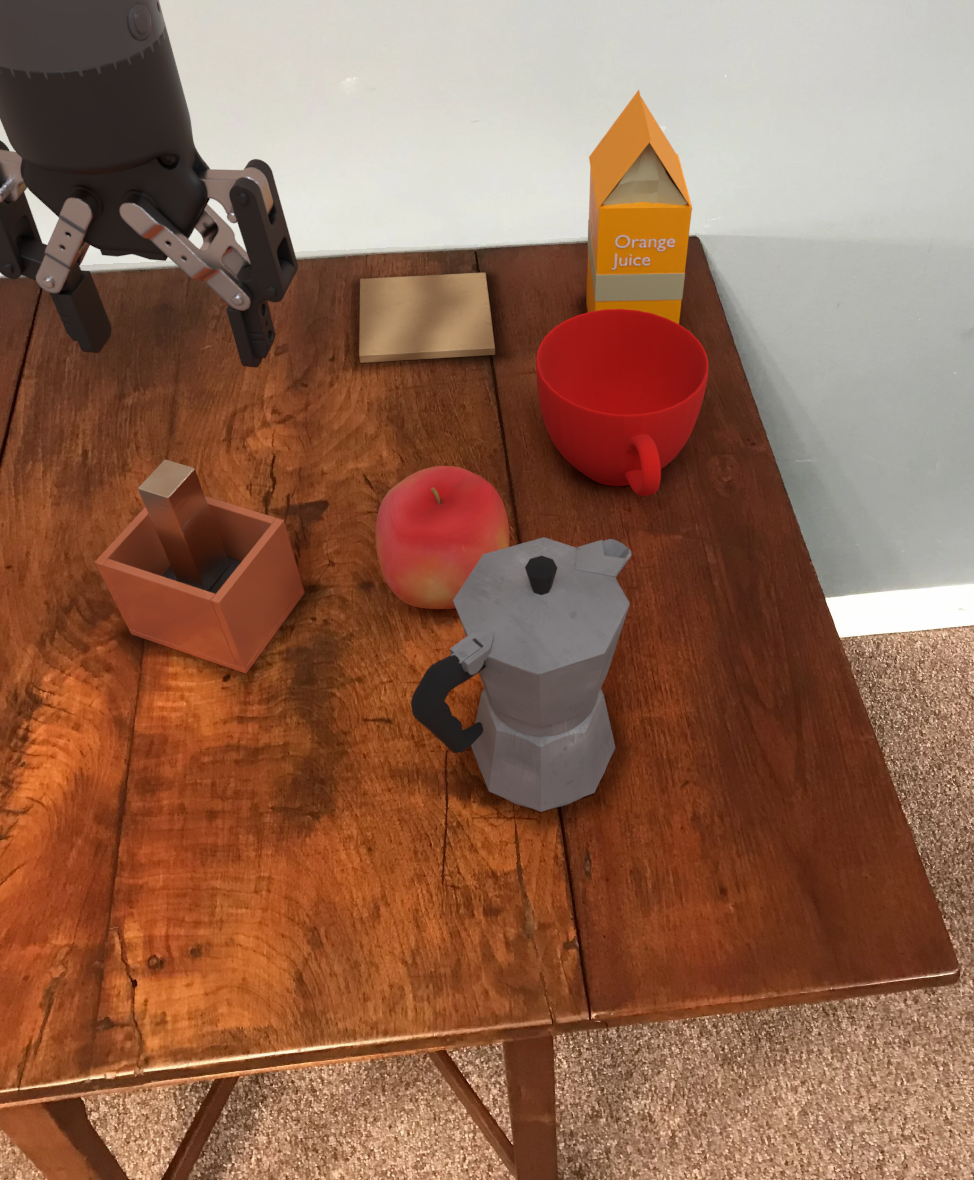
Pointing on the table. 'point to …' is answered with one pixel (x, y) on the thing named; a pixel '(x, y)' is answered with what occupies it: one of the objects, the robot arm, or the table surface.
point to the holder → (198, 617)
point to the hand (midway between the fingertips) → (176, 350)
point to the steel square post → (186, 527)
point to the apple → (437, 533)
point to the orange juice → (637, 218)
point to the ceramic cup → (621, 394)
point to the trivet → (425, 317)
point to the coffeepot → (534, 669)
